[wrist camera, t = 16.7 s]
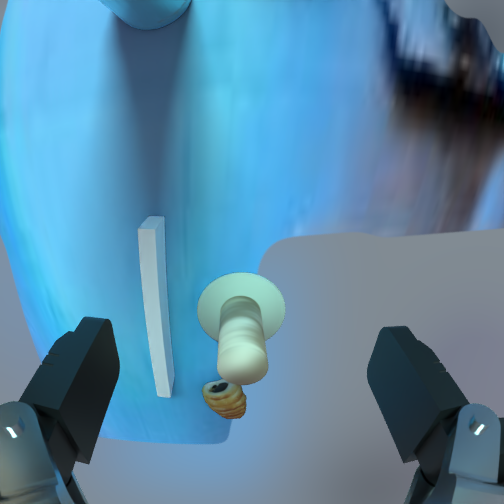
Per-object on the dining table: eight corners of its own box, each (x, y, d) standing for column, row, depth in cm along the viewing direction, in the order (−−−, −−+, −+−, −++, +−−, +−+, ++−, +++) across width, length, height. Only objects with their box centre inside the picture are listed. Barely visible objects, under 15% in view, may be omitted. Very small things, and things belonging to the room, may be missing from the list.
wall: (148, 215, 38) (137, 228, 33) (164, 216, 38) (155, 229, 33) (162, 374, 48) (157, 396, 43) (174, 375, 48) (170, 397, 43)
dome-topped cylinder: (211, 312, 43) (206, 366, 33) (242, 288, 42) (244, 340, 32) (239, 335, 45) (241, 391, 35) (269, 313, 44) (278, 368, 33)
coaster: (179, 308, 43) (179, 310, 43) (244, 254, 40) (244, 255, 40) (238, 357, 47) (238, 359, 46) (302, 312, 44) (302, 314, 44)
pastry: (254, 407, 52) (255, 423, 48) (218, 414, 52) (217, 430, 49) (237, 373, 48) (237, 390, 45) (198, 381, 49) (196, 398, 45)
